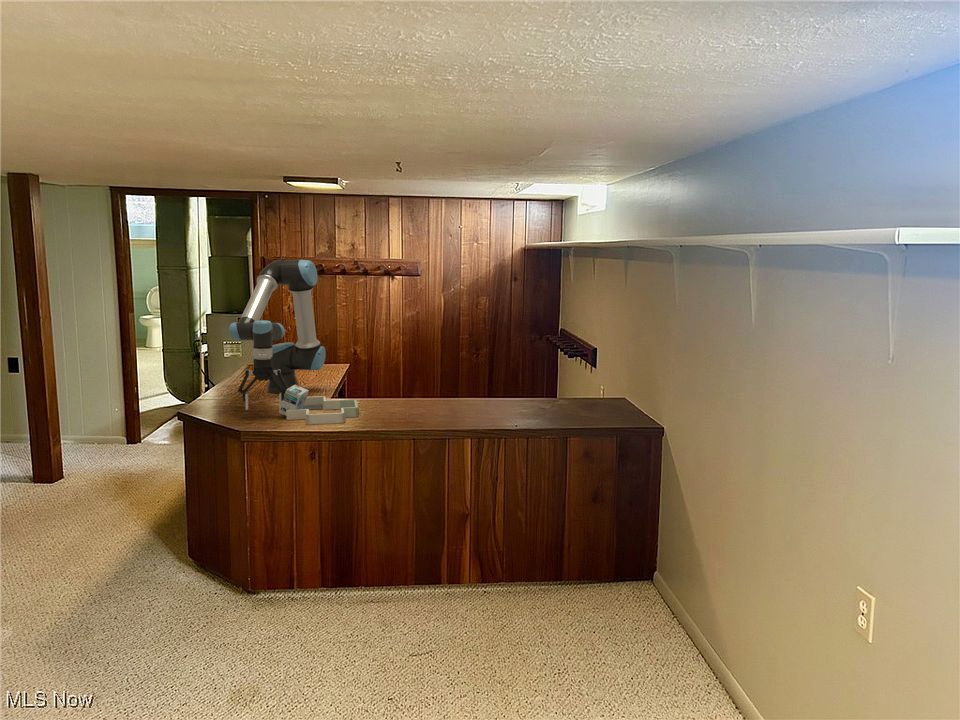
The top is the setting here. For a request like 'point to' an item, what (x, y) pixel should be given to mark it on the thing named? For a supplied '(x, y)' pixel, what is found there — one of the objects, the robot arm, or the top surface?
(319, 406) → the mats
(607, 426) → the top surface
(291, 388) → the light bulb box
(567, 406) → the top surface
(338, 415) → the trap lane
